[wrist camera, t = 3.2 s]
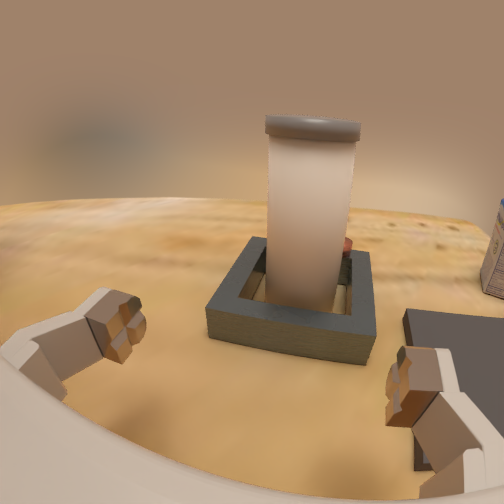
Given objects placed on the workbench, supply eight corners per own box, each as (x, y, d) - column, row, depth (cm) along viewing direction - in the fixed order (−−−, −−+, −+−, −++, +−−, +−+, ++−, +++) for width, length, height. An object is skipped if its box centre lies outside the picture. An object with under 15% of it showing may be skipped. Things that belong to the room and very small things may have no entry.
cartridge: (253, 321, 20) (254, 117, 14) (271, 279, 25) (276, 113, 18) (332, 335, 19) (364, 125, 12) (336, 289, 23) (358, 120, 17)
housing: (208, 337, 19) (203, 293, 17) (252, 260, 27) (252, 224, 25) (365, 365, 16) (381, 323, 14) (363, 276, 25) (371, 240, 23)
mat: (414, 470, 10) (423, 463, 9) (402, 318, 20) (406, 308, 19) (558, 444, 7) (567, 435, 6) (517, 328, 17) (522, 319, 16)
